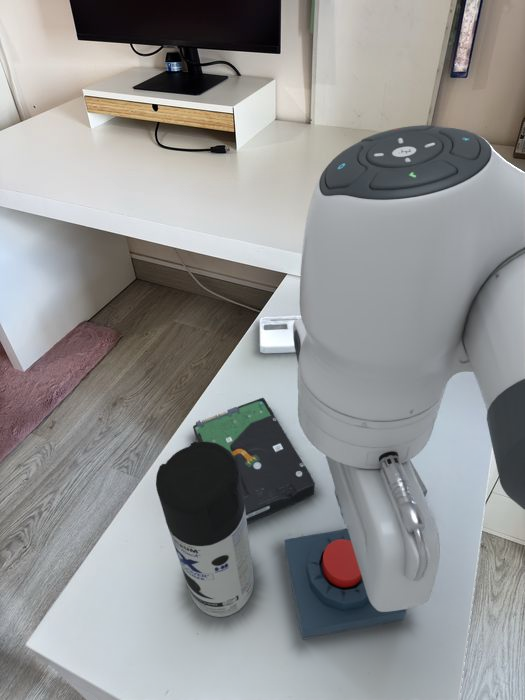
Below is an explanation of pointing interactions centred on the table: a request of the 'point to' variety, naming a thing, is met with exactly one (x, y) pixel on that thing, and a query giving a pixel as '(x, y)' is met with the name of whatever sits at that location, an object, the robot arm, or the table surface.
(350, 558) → the button
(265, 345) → the phone case
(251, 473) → the disk drive
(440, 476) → the table surface
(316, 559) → the button box
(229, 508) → the spray can
